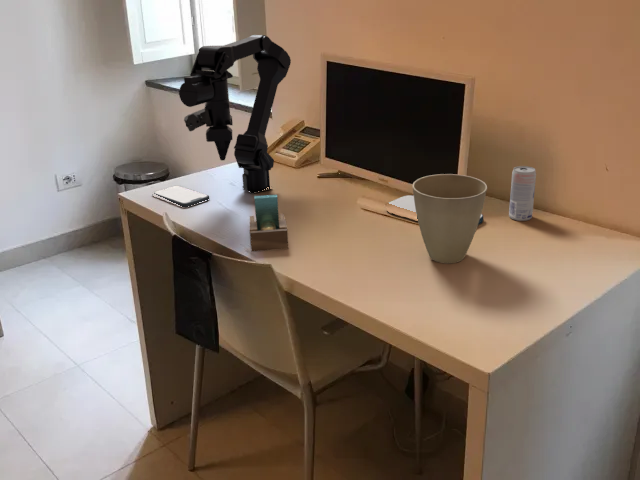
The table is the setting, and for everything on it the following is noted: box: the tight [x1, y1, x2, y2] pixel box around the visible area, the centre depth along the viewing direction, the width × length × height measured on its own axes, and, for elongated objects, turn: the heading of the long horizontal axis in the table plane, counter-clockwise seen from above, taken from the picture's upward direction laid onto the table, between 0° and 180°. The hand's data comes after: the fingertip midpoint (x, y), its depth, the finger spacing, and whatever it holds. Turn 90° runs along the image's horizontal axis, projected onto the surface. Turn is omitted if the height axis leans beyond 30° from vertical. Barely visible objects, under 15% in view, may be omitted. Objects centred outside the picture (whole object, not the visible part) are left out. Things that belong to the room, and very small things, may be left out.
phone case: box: [153, 185, 210, 208], centre depth 185 cm, size 9×2×16 cm
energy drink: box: [508, 165, 537, 222], centre depth 161 cm, size 5×5×12 cm
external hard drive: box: [388, 194, 484, 226], centre depth 166 cm, size 24×12×2 cm, turn 46°
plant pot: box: [412, 173, 488, 264], centre depth 141 cm, size 15×15×16 cm
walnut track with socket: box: [249, 213, 289, 252], centre depth 158 cm, size 17×8×4 cm, turn 6°
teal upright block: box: [253, 194, 280, 231], centre depth 154 cm, size 8×5×9 cm, turn 6°
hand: (222, 160), depth 174 cm, fingers closed
